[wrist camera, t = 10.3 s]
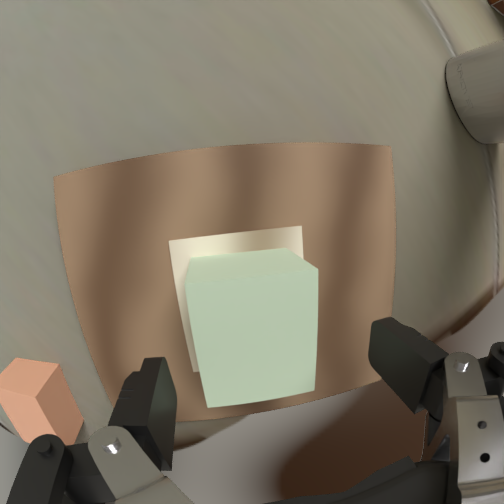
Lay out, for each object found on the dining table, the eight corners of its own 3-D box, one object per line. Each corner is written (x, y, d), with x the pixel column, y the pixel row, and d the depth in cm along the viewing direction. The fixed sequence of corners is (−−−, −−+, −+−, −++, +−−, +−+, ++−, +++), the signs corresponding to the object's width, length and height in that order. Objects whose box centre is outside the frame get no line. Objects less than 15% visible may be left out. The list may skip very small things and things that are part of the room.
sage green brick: (286, 247, 15) (318, 269, 10) (288, 345, 16) (314, 390, 12) (191, 257, 14) (184, 284, 10) (205, 356, 15) (207, 407, 11)
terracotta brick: (59, 363, 16) (35, 397, 11) (84, 419, 17) (69, 454, 12) (16, 356, 15) (-10, 384, 11) (41, 410, 16) (24, 441, 12)
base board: (377, 149, 16) (391, 145, 15) (372, 370, 20) (382, 380, 18) (65, 178, 13) (52, 176, 12) (124, 409, 17) (120, 422, 15)
